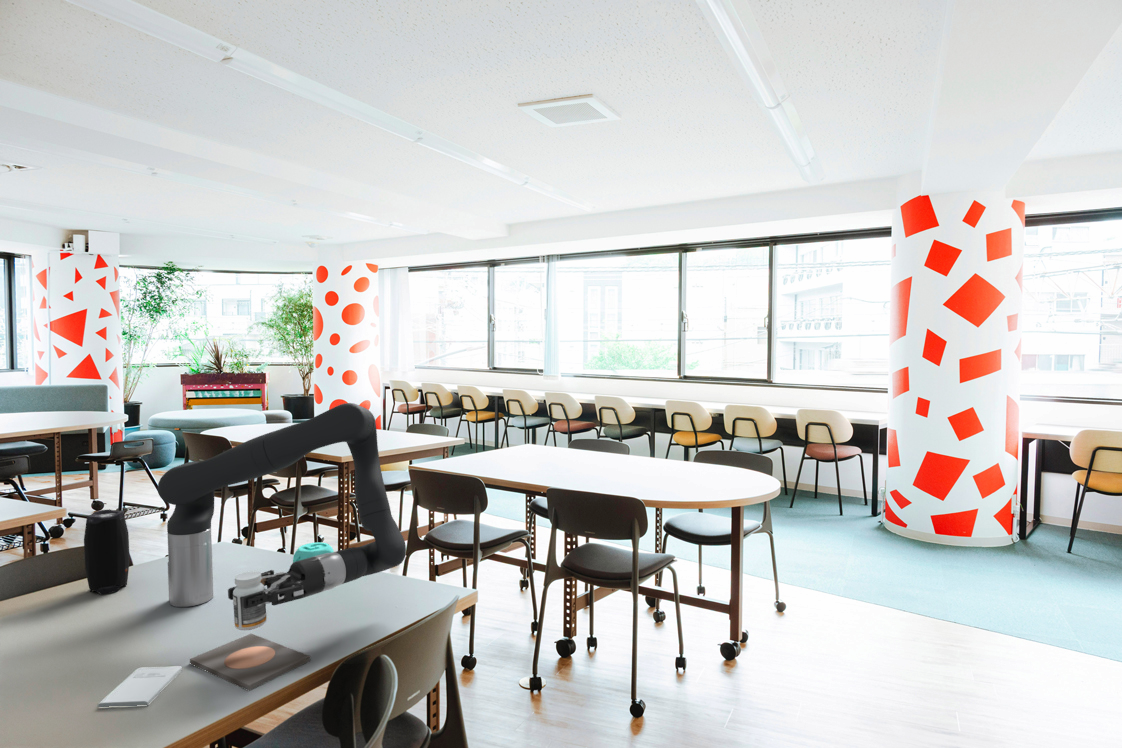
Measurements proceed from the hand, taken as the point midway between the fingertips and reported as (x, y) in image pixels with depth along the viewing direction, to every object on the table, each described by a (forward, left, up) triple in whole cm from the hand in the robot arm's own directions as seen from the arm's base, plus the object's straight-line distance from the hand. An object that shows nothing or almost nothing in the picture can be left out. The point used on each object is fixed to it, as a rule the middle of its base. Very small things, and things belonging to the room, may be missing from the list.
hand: (236, 598), depth 128 cm
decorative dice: (-28, +40, -14) cm, 51 cm away
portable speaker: (-65, +7, -14) cm, 67 cm away
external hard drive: (-8, -14, -14) cm, 21 cm away
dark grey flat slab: (0, +2, -13) cm, 14 cm away
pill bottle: (0, +3, -6) cm, 7 cm away
